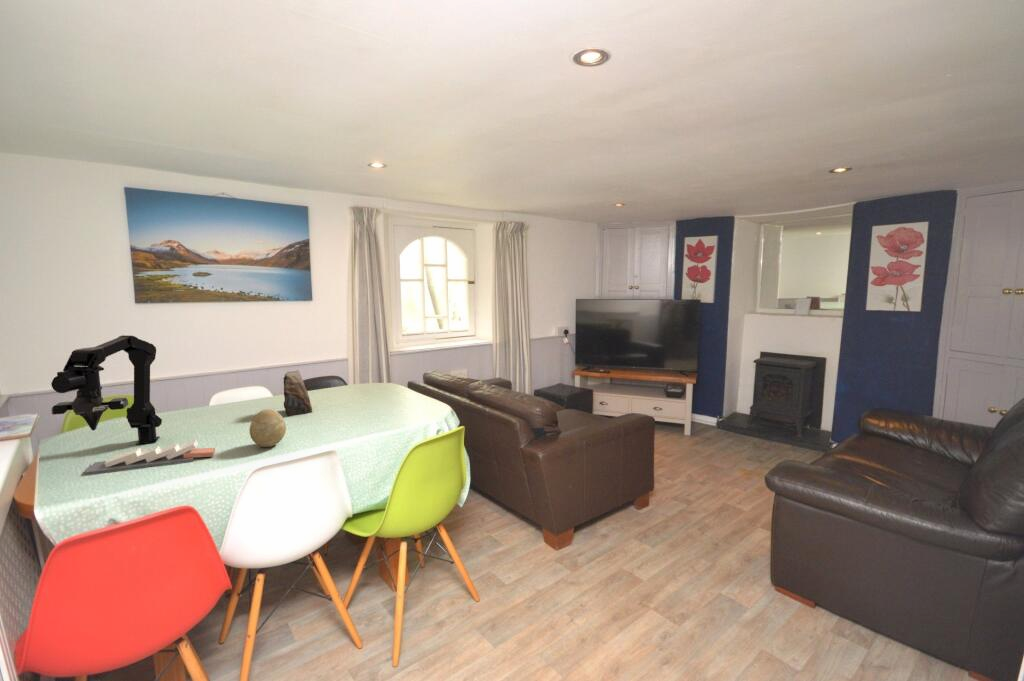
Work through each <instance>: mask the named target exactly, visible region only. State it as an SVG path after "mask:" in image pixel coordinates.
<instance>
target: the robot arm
mask: <svg viewBox="0 0 1024 681" xmlns="http://www.w3.org/2000/svg"><path fill="white" fill-rule="evenodd" d="M121 351H123V352H125V353H127V355H128V360H129V361H130V362H131V364H132V366H133V403H132V404H131V405H130V407H128V406H129V399H127V398H126V397H118V398H112V399H110V400H109V401H104V397H103V396H102V395H103V394H102V390H103V387H102V386H101V379H100V378H101V377H100V372H102V371H105V368H104V367H103V366H101V364H102V363H104V362H105V361H106V359H107V358H108V357H109V356H111V355H114V354H116V353H118V352H121ZM156 354H157V346H155V345H154V344H153V343H150V342H148V341H145V340H143V339H140V338H138V337H137V336H135V335H125V334H124V335H120V336H118V337H116V338H114V339H111V340H109V341H106V342H104V343H101V344H99V345H96V346H92V347H84V348H83V347H82V348H77V349H74V350H72V352H71V354H70V355H69V357H68V360H67V361H66V364H65V366H64V367H63V370H62V371H57V372H56V375H57V376H55V377H54V378H53V379H52V381H51V383H50V385H51V388H52V389H53V391H55V392H57V393H59V394H66V393H69V392H73V391H75V390H76V397H75V398H74V399H73V401H61V402H59V403H56V404H54V405H53V406H52V407H51V414H52V415H64V414H65V413H67V412H68V411H73V413H74V414H75V416H80V417H81V418H83V419H84V421H85V422H86V424H87V425H88V427H89V428H90V430H91V431H97V427H98V425H99V422H100V420H101V417H102V416H103V413H105V412H106V411H107V410H108V409H109V410H111V411H113V410H115V411H116V410H123V409H125V408H126V419H127V423H128V424H129V426H130V428H131V429H137V438H138V440H137V441H136V442H135V445H145V444H154V443H157V441H158V440H159V439H160V436H159V435H157V430H156V429H157V428H159V427H160V426H161V425H162V422H163V419H162V418H161V417H159V416H158V415H157V414H156V408H155V406H154V405H153V404H152V403H151V365H152V364H153V363H154V361H155V360H156Z"/></svg>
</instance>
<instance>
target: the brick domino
mask: <svg viewBox="0 0 1024 681" xmlns="http://www.w3.org/2000/svg"><path fill="white" fill-rule="evenodd" d="M215 453H216V447H201V448H197V447H196V448H195V449H192V450H190V451H188V452H185V453H184V457H183V458H194V457H195V458H206V457H207V458H208V457H211V458H212V457H214V455H215Z"/></svg>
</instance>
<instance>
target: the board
mask: <svg viewBox="0 0 1024 681" xmlns="http://www.w3.org/2000/svg"><path fill="white" fill-rule="evenodd" d="M183 457H184V453H183V454H181V455H179V456H176V457H174V458H172V459H169V460H168V459H167V457H166V456H164V457H161V458H158V459H156V460H153V461H150V462H148V463H147V461H146V459H142V460H140V461H137V462H134V463H131V464H128V465H126V463H125V461H124V462H121V463H118V464H115V465H112V466H110V467H106V466H105V464H104V463H105V462H106V461H107V460H103V461H95V462H93V463H92V465H90V466H89V467H88V468H87V469H86V470H85V471H84V473H83V474H84V476H89V475H96V474H97V475H98V474H103V473H112V472H114V473H115V472H120V471H128V470H129V471H130V470H134V469H135V470H136V469H144V468H145V469H146V468H151V467H153V468H154V467H160V466H168V465H175V464H184V463H191V462H194V460H195V458H196V457H194V458H183Z"/></svg>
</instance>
